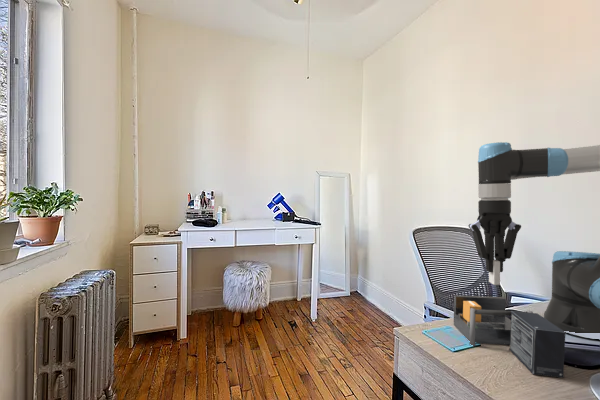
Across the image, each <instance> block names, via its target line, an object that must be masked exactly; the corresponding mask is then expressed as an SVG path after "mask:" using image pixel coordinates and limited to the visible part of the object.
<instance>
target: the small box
mask: <svg viewBox="0 0 600 400" xmlns="http://www.w3.org/2000/svg"><path fill="white" fill-rule="evenodd" d="M510 311H511V316H510V317H511V319H510V320H511V335H510V345H509V351H510V352H511V353H512V355H514V357H516V358H517V359H518V361H519V362H520V363H521V364H522V365H523V366H524V367H526V369H527V370H528V371H529V372H530V373H531V374H532V375H538V376H545V377H546V376H547V377H552V378H553V377H554V378H559V379H560V378H562V379H564V377H565V376H564V373H565V372H564V371H565V350H566V348H565V346H566V335H567V334H566V332H564V331H563V330H561V329H560V328H558V327H557V326H555V325H554V324H552V323H551V322H549V321H548V320H546V319H545V318H544V316H542V315H540V314H539V313H535V312H533V313H528V312H527V311H523V312H519V311H520V310H510Z"/></svg>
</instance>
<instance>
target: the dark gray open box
mask: <svg viewBox="0 0 600 400" xmlns="http://www.w3.org/2000/svg"><path fill="white" fill-rule="evenodd" d="M453 297H454V298H453V326H454V327H455V328H456V329H457V330H458V332H460V333H461V334H462V336H463V335H464V336H465V337H466V338H467V339H468V340H469V341H470V321H467V320H465V319H464V318H463V301H474V302H476V303H477V304H478V305H480V306H481V310H501V311H506V305H507V304H506V302H507V301H506V300H507V299H506V297H503V296H485V295H484V296H483V295H482V296H481V295H458V294H457V295H453ZM510 335H511V319H510V318H509V317H508V316H504V315H483V314H481V322H475V342H477V343H476V344H488V345H489V344H490V345H505V346H510ZM464 336H463V337H464ZM465 337H464V338H465ZM466 338H465V339H466ZM467 339H466V340H467ZM468 340H467V341H468ZM469 341H468V342H469Z"/></svg>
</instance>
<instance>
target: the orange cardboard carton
mask: <svg viewBox="0 0 600 400" xmlns="http://www.w3.org/2000/svg"><path fill="white" fill-rule="evenodd" d="M470 308H474V309H479V310H481V306H480V305H478V304H477V303H476V302H474V301H463V318H464V319H465V320H467V321H470ZM475 322H481V314H476V316H475Z"/></svg>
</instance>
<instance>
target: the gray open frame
mask: <svg viewBox="0 0 600 400" xmlns="http://www.w3.org/2000/svg"><path fill="white" fill-rule="evenodd" d="M511 311H512V310H505V311H501V310H479V309H474V308H470V342H469V345H470V344H471V345H473V346H472V347H476V343H475V316H476V314H483V315H504V316H506V317H511ZM518 311H519V312H524V311H523V310H522V311H521V310H518ZM526 312H528V313H534V312H533V311H532V310H526ZM471 345H470V346H471Z"/></svg>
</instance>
